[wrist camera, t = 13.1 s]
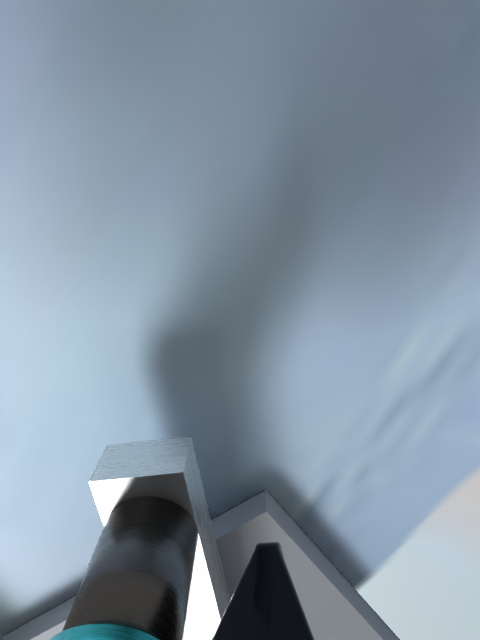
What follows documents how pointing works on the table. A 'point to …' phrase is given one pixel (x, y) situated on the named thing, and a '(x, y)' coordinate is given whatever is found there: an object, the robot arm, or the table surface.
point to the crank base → (303, 565)
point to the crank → (150, 550)
